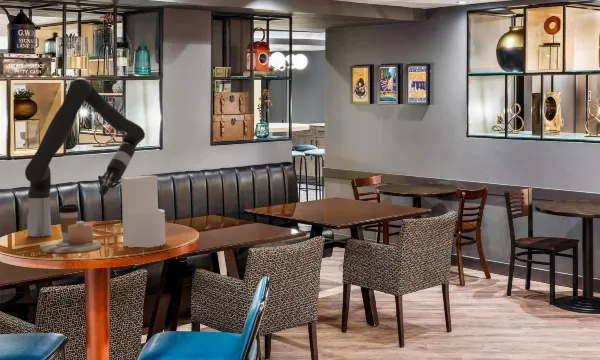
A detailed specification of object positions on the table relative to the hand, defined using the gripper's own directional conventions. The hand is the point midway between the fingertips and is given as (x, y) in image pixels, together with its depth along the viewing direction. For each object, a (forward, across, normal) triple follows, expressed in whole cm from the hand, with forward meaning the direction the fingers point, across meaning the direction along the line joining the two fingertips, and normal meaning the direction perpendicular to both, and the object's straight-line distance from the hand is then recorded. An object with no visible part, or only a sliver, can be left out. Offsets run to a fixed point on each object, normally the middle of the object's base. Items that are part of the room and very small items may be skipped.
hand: (101, 194), depth 356 cm
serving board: (+29, 0, 0) cm, 29 cm away
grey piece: (+15, +22, +14) cm, 30 cm away
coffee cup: (+18, -15, +11) cm, 25 cm away
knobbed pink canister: (+23, 0, +3) cm, 23 cm away
